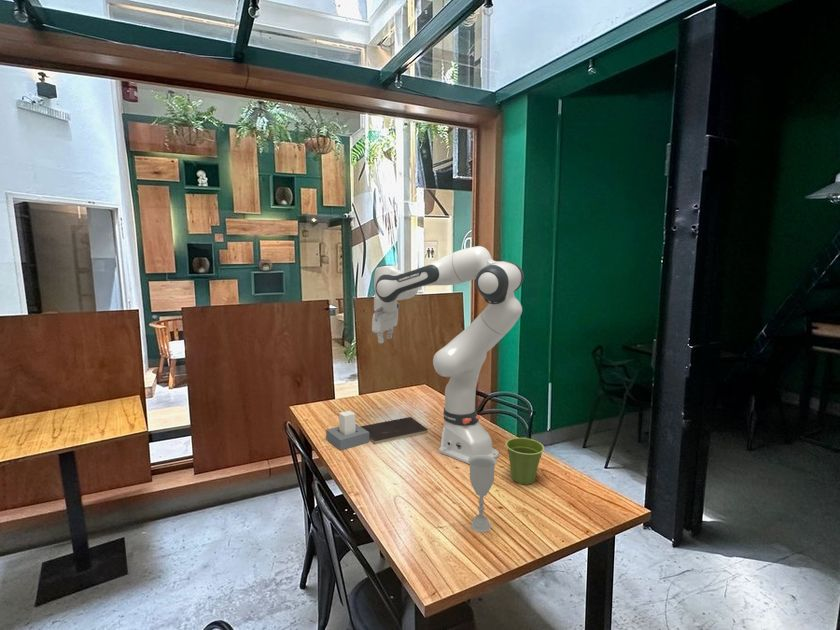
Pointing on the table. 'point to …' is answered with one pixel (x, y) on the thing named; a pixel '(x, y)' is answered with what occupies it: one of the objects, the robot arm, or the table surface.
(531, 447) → the plant pot
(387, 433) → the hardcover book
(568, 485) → the table surface
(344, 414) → the cream block
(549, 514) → the table surface
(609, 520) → the table surface
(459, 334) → the robot arm
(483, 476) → the chalice
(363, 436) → the holder
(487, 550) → the table surface
